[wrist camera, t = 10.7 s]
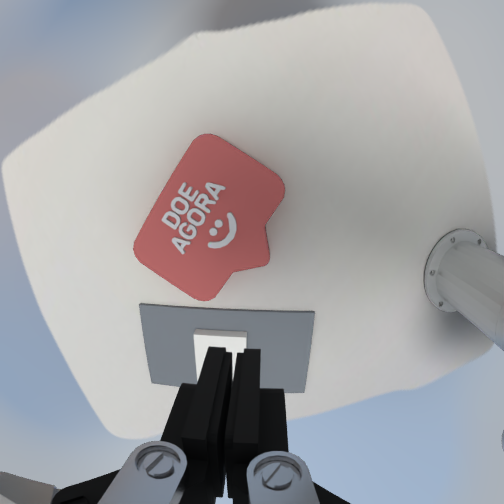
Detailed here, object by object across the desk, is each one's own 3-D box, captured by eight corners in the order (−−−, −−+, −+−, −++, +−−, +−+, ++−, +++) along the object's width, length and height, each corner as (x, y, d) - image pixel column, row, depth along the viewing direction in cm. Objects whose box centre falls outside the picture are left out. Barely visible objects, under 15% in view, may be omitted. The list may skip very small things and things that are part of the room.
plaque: (226, 321, 37) (125, 255, 36) (230, 308, 41) (137, 248, 39) (313, 199, 33) (200, 126, 32) (308, 197, 37) (207, 130, 35)
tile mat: (314, 311, 40) (314, 312, 40) (303, 390, 44) (304, 392, 43) (140, 303, 41) (139, 304, 40) (152, 381, 44) (151, 383, 44)
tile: (246, 337, 39) (193, 334, 39) (245, 384, 41) (197, 380, 41) (247, 331, 41) (196, 328, 41) (246, 377, 43) (199, 374, 43)
